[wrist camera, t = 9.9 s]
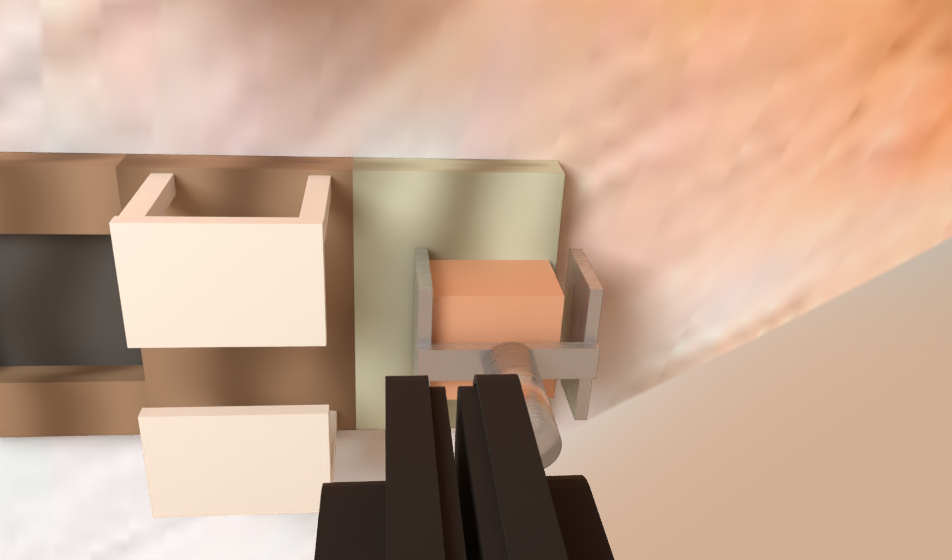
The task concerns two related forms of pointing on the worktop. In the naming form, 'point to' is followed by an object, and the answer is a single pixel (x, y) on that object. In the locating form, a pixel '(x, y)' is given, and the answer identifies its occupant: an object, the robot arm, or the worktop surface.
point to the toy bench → (227, 325)
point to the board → (239, 195)
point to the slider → (522, 351)
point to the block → (495, 306)
